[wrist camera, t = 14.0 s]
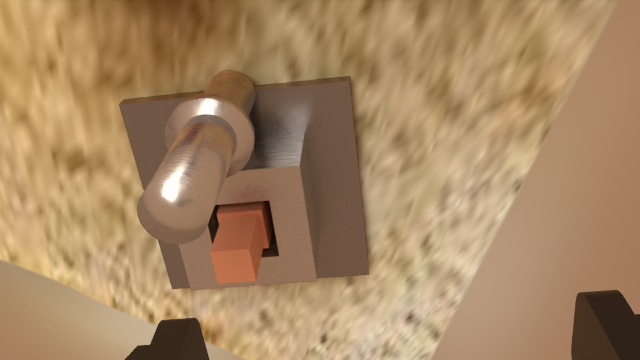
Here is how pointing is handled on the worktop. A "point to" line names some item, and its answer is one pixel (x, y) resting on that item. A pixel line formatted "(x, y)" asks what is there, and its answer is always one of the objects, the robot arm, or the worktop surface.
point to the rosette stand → (251, 175)
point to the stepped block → (241, 240)
